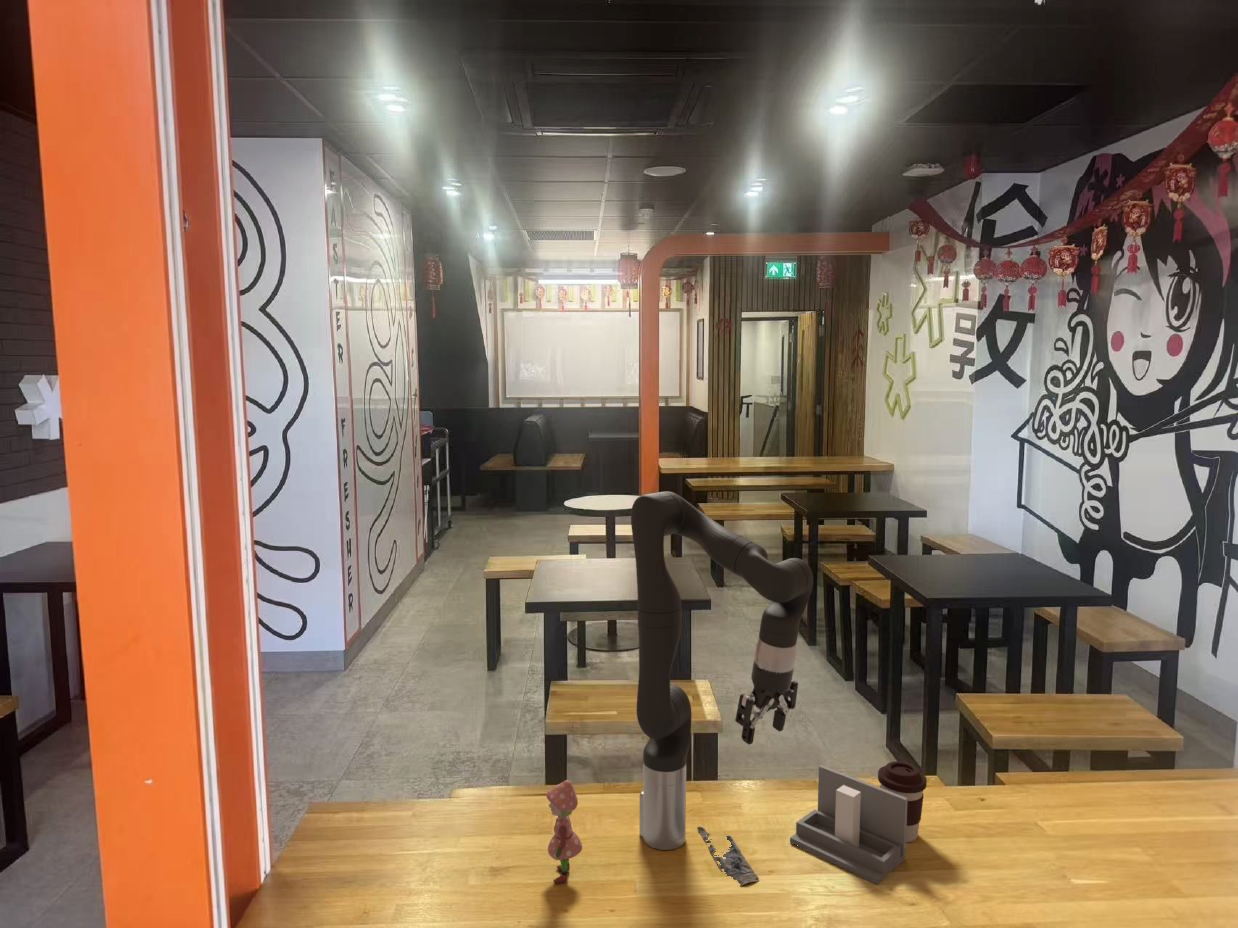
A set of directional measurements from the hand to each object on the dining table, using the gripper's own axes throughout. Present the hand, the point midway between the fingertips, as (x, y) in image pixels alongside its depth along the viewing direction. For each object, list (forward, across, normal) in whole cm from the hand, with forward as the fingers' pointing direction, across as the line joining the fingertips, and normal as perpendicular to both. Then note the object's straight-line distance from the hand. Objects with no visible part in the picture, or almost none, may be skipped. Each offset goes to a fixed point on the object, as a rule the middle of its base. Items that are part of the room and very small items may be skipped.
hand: (762, 735), depth 152 cm
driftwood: (+32, 0, -4) cm, 32 cm away
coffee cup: (+29, -36, +13) cm, 48 cm away
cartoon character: (+33, +31, -18) cm, 49 cm away
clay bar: (+28, -21, +10) cm, 36 cm away
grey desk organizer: (+29, -21, +10) cm, 37 cm away
